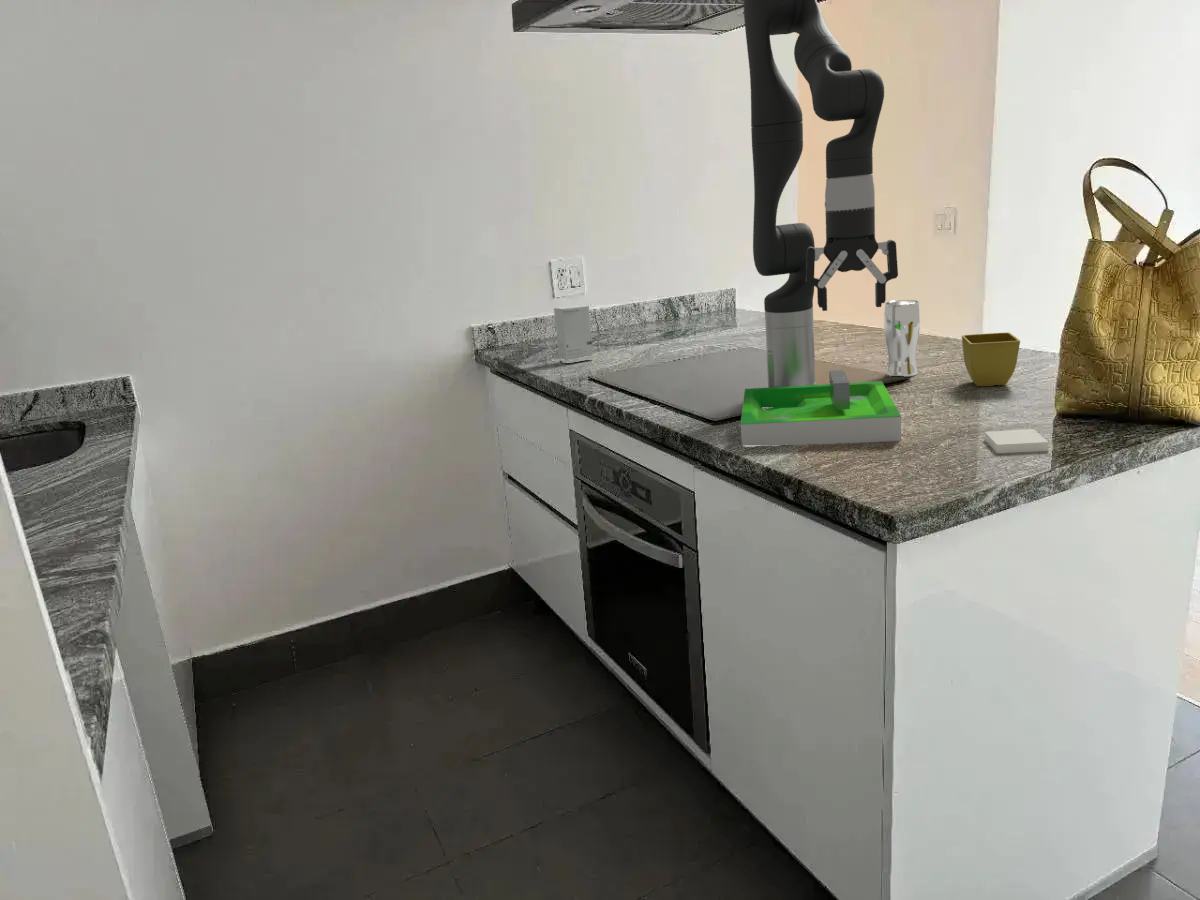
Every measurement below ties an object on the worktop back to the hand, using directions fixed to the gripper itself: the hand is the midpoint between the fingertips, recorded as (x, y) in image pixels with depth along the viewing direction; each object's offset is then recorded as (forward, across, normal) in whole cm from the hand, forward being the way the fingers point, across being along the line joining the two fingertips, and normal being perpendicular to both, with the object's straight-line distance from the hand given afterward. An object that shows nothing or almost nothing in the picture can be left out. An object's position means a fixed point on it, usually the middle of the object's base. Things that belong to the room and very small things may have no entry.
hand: (851, 308), depth 142 cm
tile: (+20, +18, -15) cm, 31 cm away
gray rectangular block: (+16, -2, +2) cm, 16 cm away
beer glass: (+21, +14, +38) cm, 46 cm away
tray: (+21, -6, +3) cm, 22 cm away
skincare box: (+21, -65, +79) cm, 104 cm away
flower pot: (+20, +28, +25) cm, 43 cm away
